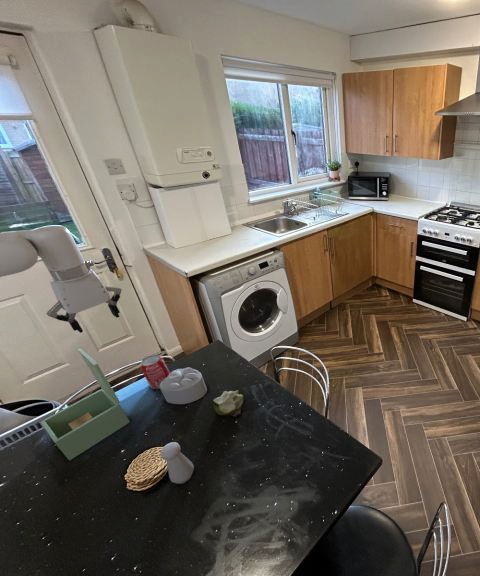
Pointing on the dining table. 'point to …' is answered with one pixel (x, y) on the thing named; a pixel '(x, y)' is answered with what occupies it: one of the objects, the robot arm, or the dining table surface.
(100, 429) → the chest
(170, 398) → the lumpy-topped squat cylinder
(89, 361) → the lid
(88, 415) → the block
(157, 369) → the soda can
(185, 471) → the salt shaker
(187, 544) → the dining table surface
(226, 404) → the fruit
